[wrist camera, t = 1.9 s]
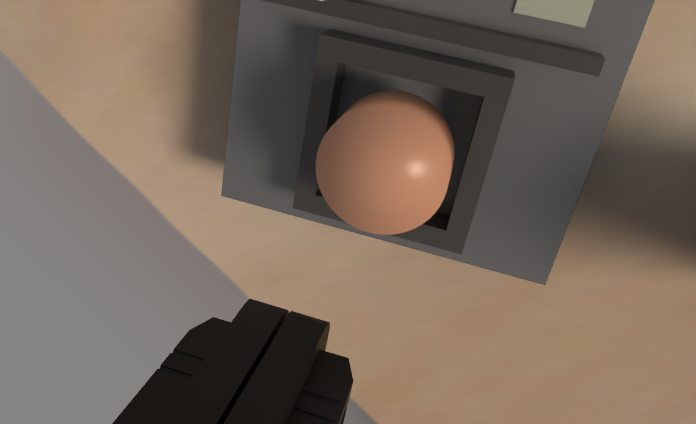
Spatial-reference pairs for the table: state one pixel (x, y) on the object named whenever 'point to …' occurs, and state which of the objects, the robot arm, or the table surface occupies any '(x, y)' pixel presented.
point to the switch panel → (448, 98)
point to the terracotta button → (386, 162)
